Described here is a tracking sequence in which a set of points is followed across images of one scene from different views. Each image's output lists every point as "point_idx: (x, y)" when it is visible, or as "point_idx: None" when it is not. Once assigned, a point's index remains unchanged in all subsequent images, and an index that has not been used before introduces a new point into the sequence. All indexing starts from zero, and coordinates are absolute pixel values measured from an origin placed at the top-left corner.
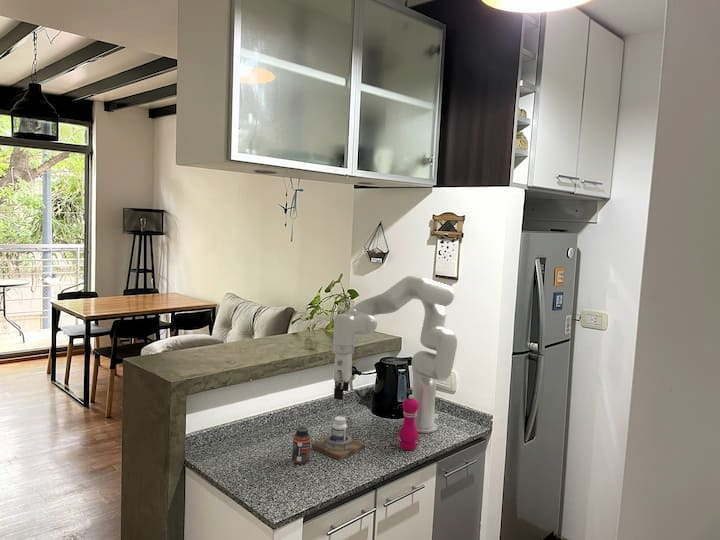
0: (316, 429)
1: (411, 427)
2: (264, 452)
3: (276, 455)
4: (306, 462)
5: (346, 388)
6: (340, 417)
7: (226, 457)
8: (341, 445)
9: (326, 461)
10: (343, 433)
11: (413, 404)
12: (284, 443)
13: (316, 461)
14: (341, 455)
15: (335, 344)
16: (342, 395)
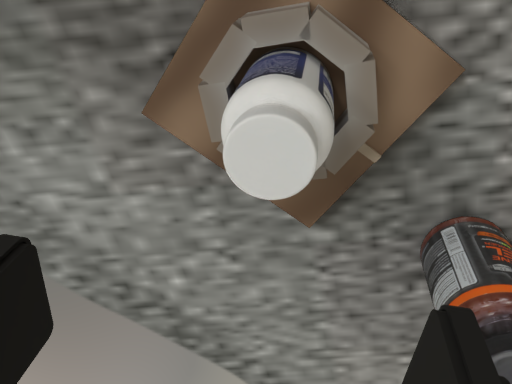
0: (94, 210)
1: None
2: (380, 365)
3: (406, 330)
4: (494, 225)
5: (12, 286)
6: (250, 157)
7: None
8: (375, 76)
9: (472, 133)
10: (322, 87)
11: None
12: (283, 314)
13: (470, 181)
14: (454, 60)
15: None
16: (491, 369)
